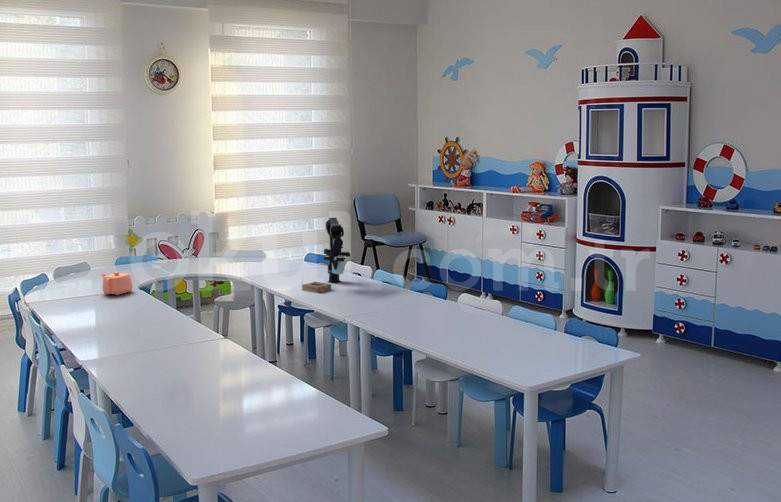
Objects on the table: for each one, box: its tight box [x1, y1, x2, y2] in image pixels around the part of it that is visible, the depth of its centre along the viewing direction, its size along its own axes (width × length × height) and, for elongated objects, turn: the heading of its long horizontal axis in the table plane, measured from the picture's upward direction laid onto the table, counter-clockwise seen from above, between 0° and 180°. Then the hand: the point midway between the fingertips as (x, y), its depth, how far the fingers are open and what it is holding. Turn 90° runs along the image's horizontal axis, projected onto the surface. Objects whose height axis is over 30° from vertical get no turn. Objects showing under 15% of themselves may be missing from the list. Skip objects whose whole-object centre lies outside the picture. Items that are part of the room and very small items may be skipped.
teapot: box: [99, 271, 133, 296], centre depth 487 cm, size 20×19×14 cm
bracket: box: [332, 260, 346, 275], centre depth 486 cm, size 3×9×8 cm, turn 50°
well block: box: [301, 281, 332, 294], centre depth 486 cm, size 12×14×4 cm
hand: (337, 269), depth 487 cm, fingers closed on bracket, 3 cm apart
